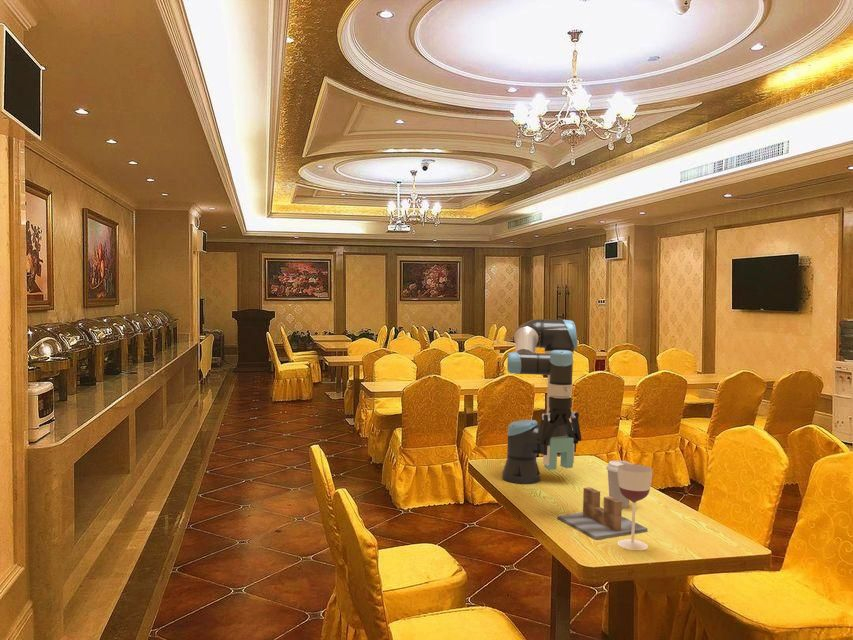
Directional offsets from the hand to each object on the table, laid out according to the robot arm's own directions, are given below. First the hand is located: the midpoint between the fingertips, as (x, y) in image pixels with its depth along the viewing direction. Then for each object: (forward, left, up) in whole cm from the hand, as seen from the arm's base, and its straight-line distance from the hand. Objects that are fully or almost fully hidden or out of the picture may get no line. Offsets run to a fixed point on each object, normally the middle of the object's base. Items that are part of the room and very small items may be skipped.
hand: (558, 463), depth 219 cm
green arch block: (0, 0, -1) cm, 1 cm away
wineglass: (+30, +6, -18) cm, 36 cm away
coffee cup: (-1, +27, -18) cm, 32 cm away
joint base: (+13, +8, -18) cm, 23 cm away
